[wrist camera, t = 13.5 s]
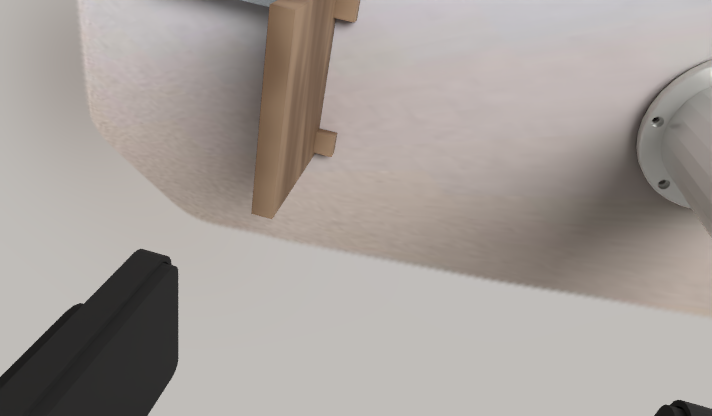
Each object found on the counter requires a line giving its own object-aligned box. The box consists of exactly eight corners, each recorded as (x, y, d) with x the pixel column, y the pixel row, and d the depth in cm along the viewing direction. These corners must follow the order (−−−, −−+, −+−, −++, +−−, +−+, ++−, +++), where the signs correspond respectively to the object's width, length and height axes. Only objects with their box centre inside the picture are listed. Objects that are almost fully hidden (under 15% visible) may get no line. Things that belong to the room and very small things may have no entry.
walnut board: (362, -13, 41) (323, 16, 31) (332, 157, 49) (294, 225, 39) (301, -27, 42) (242, -3, 32) (281, 144, 50) (229, 207, 40)
